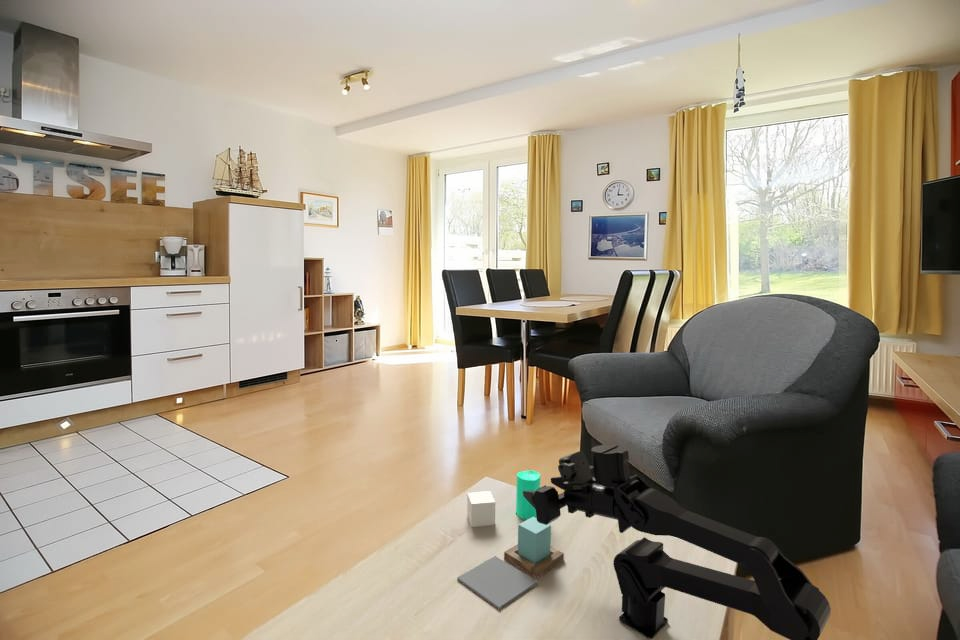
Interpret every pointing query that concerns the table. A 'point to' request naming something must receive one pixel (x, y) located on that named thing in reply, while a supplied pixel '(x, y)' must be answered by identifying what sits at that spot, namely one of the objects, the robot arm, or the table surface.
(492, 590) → the mat
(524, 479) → the candle
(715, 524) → the robot arm
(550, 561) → the frame
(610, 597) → the table surface
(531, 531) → the teal rectangular block
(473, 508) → the white cube
